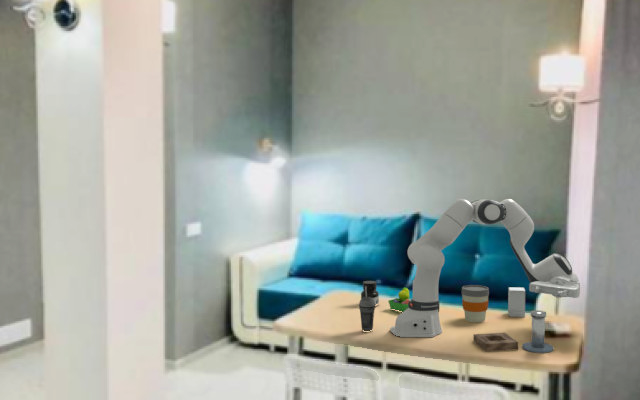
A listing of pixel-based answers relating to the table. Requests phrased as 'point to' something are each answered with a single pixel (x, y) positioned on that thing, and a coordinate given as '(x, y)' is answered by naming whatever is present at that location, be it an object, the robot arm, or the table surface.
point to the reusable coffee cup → (475, 302)
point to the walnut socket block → (495, 341)
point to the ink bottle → (370, 291)
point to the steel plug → (538, 328)
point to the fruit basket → (400, 301)
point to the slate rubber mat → (529, 348)
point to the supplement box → (516, 302)
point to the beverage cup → (367, 312)
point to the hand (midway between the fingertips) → (548, 292)
